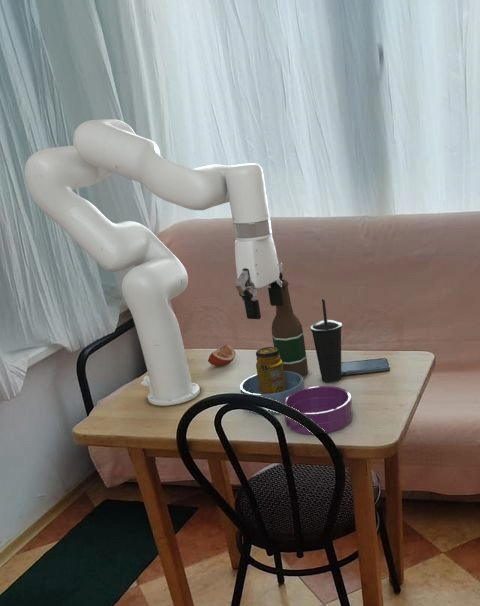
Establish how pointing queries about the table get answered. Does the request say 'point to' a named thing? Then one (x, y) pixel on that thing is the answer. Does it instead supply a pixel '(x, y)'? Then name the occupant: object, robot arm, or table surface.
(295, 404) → the plum bowl
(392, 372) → the table surface
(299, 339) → the beer bottle
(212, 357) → the fruit slice
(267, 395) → the slate bowl
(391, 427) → the table surface
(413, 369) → the table surface
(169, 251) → the robot arm
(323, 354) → the drinking cup
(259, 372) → the condiment
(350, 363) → the table surface
